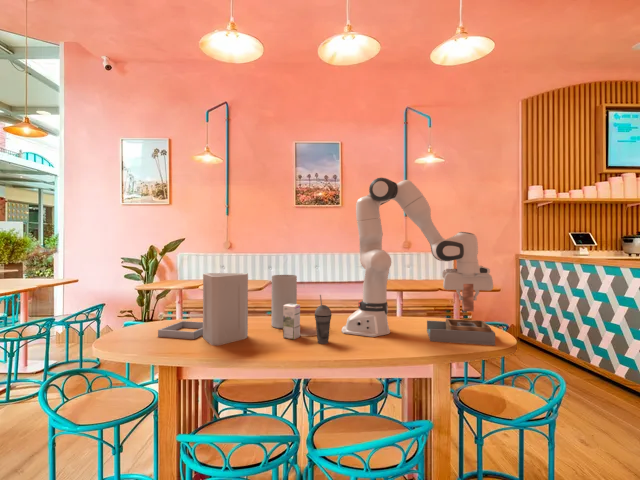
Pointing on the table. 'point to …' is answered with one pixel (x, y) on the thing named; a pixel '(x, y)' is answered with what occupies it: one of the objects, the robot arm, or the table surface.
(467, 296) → the reddish brown block
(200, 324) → the gray square frame
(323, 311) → the beverage cup
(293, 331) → the syrup box
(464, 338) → the tray
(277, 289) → the cylinder vase
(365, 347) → the table surface
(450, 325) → the crate
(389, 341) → the table surface
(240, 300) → the paper bag
